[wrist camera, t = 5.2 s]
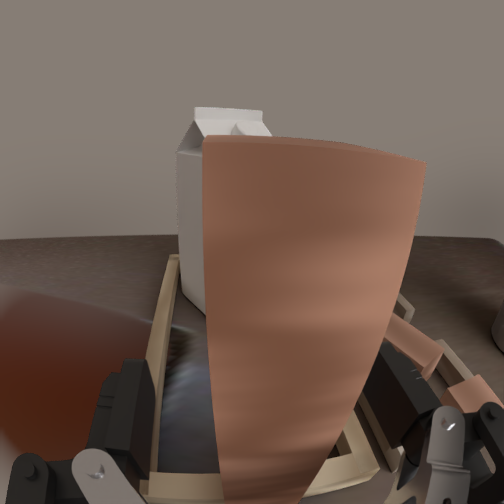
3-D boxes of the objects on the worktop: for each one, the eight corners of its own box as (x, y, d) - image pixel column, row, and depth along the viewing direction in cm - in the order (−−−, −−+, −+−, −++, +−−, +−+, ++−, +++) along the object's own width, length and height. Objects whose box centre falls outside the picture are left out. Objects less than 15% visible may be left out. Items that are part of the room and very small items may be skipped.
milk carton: (182, 294, 31) (175, 109, 24) (234, 277, 36) (239, 111, 28) (218, 329, 26) (218, 104, 19) (275, 304, 31) (289, 111, 23)
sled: (276, 265, 38) (285, 131, 31) (373, 491, 11) (543, 195, 5) (171, 267, 36) (165, 129, 29) (134, 515, 10) (-57, 181, 3)
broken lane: (387, 297, 32) (397, 260, 30) (492, 430, 13) (526, 390, 11) (309, 304, 31) (315, 263, 29) (396, 483, 12) (433, 447, 10)
